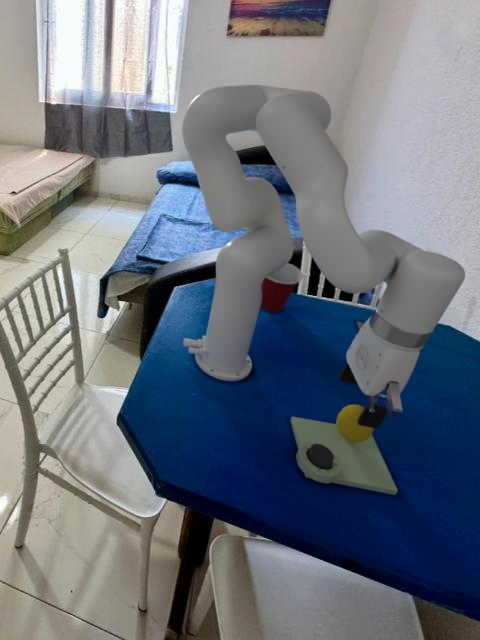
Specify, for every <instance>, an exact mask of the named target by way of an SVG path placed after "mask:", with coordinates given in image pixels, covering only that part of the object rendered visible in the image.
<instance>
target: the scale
mask: <svg viewBox="0 0 480 640" xmlns="http://www.w3.org/2000/svg"><path fill="white" fill-rule="evenodd" d="M290 424H291V428H292V431H293V432H292V433H293V435H294V439H295V442H296V448H297V452H296V455H295V459H296V463H297V466H298V468H299V469H300V470H301V471H302V473H304V477H305V478H306V479H307V478H308V479H311V480H313V481H315V482H319V483H322V484H327V485H328V484H330V483H332V484H337V485H343V486H347V487H352V488H356V489H357V488H358V489H362V490H368V491H374V492H378V493H382V494H389V495H392V496H393V495H394V496H396V495H397V493H398V487H397V485H396V484H395V482H394V479H393V477H392V475H391V473H390V471H389V469H388V466H387V464H386V462H385V459H384V458H383V456H382V453H381V451H380V448H379V447H378V445H377V443H376V441H375V439H374V435H373V433H372V434H371V436H370V437H369V438H368V439H367V440H366V441H364V442H360V443H355V442H351V441H348V440H346V439H345V438H344V437H343V436H341V434H340V433H339V431H338V429H337V425H336V423H330V422H324V421H319V420H313V419H309V418H302V417H296V416H291V417H290ZM313 444H321V445H324V446H326V447H327V448H328V449H330V451H331V452H332V453H333V456H334V460H333V462H332V464H331V466H330V468H328V469H320V468H317V467H316V466H314V465H313V464H312V463H311V462H310V461H309V459H308V452H309V450H310V448H311V446H312V445H313Z"/></svg>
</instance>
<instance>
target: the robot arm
mask: <svg viewBox="0 0 480 640" xmlns="http://www.w3.org/2000/svg"><path fill="white" fill-rule="evenodd" d="M182 120H183V121H182V130H181V132H182V140H183V144H184V148H185V150H186V152H187V155H188V157H189V159H190V161H191V164H192V166H193V169H194V171H195V175H196V177H197V181H198V185H199V188H200V192H201V195H202V198H203V201H204V205H205V207H206V211H207V213H208V217H209V220H210V222H211V224H212V225H213V226H214V228H215V229H216V230H218V231H219V232H222V233H233V232H237V231H240V230H242V229H244V231H245V233H244V234H242V235H240V236H238V237H236V238H233V239H231V240H230V241H228V242H226V243H225V244H224V245H223V246H222V248H220V250H219V251H218V253H217V256H216V259H215V285H214V291H213V297H212V303H211V308H210V312H209V318H208V323H207V328H206V334H205V335H204V334H203V335H202V338H197V339H192V338H185V337H183V342H182V347H185V348H188V351H187V352H188V354H191V355H194V359H195V363H196V364H197V366H198V367H199V368H200V369H201V370H202V371H203V372H204V373H205V374H207V375H209V376H211V377H213V378H214V379H217V380H221V381H225V382H237V381H241V380H243V379H245V378H248V376H249V375H250V374H251V372H252V368H253V362H252V359H251V357H250V355H249V351H250V347H251V343H252V340H253V336H254V332H255V329H256V325H257V320H258V317H259V313H260V311H261V310H260V309H261V301H262V292H261V285H262V282H263V280H264V279H265V278H266V277H267V276H269V275H271V274H272V273H274V272H275V271H277V270H279V269H280V268H282V267H283V266H285V265H286V264H287V263H290V261H291V260H292V257H293V254H294V242H293V237H292V233H291V230H290V226H289V224H288V220H287V217H286V214H285V210H284V207H283V204H282V201H281V198H280V195H279V193H278V191H277V189H276V188H275V187H274V186H273V184H272V183H271V182H270V181H268V180H266V179H265V178H263V177H260V176H259V177H258V176H248V177H246V176H245V173H244V171H243V168H242V163H241V160H240V158H239V155H238V154H237V152H236V150H235V149H234V148H233V146H232V145H231V144H230V143H229V141H228V140H227V136H228V135H230V134H236V133H242V132H247V131H252V132H257V134H258V136H259V138H260V139H261V142H262V143H263V145H264V146H265V148H266V149H267V152H269V154H270V156H271V158H272V159H273V161H274V163H275V164H276V166H277V168H278V169H279V170H280V172H281V174H282V176H283V177H284V179H285V181H286V182H287V184H288V186H289V187H290V189H291V191H292V192H293V194H294V197H295V210H296V217H297V222H298V228H299V231H300V235H301V238H302V242H303V244H304V245H305V248H306V249H307V251H308V252H309V254H310V256H311V257H312V259H313V261H314V262H315V264H316V266H317V268H318V269H319V270H320V272H321V273H322V275H323V276H324V277H325V279H326V280H327V281H328V282H329V283H330V284H331V285H332V286H334V287H335V288H337V289H338V290H340V291H342V292H344V293H348V294H363V293H366V292H369V291H372V290H374V288H376V287H377V286H379V285H380V284H381V283H382V282H383V283H385V284H386V287H385V289H384V291H383V293H382V295H381V297H380V299H379V301H378V302H377V303H378V304H377V305H376V307H375V309H374V311H373V313H372V315H371V316H369V318H368V319H367V320H366V321H365V322H364V323H365V324H364V325H363V326H362V328H361V329H360V331H359V330H358V332H357V334H353V335H352V342H351V344H350V345H349V347H348V349H347V351H346V353H345V357H346V358H345V359H346V363H345V365H344V367H343V368H342V371H341V372H340V374H339V376H338V379H339V381H340V382H341V383H347V384H353V385H358V387H359V389H360V390H361V392H362V393H363V394H364V395H366V396H369V398H368V405H365V406H364V410H363V411H362V413H361V415H360V417H359V418H358V420H357V423H358V425H361V426H366V427H371V428H374V429H379V428H380V427H381V425H382V423H383V422H384V421H385V419H386V417H387V416H388V417H396V416H397V415H400V414H402V413H403V412H404V411H403V404H402V399H401V398H402V397H401V393H402V392H403V390H404V389H405V387H406V385H407V384H408V382H409V380H410V378H411V375H412V374H413V372H414V370H415V367H416V365H417V362H418V359H419V356H420V353H421V352H420V350H422V349H423V348H424V347H425V345H426V343H427V342H428V340H429V338H430V337H431V335H432V334H433V331H434V330H435V328H436V327H437V325H438V324H439V322H440V321H441V319H442V317H443V315H444V314H445V313H446V311H447V309H448V308H449V306H450V304H451V303H452V301H453V299H454V298H455V297H456V294H457V293H458V291H459V290H460V288H461V287H462V285H463V283H464V281H465V278H466V271H465V269H464V267H463V266H462V265H461V264H460V263H459V262H458V261H456V260H454V259H453V258H451V257H448V256H446V255H444V254H440V253H438V252H434V251H428V250H425V249H422V248H421V247H418V246H416V245H414V244H413V243H410V242H409V241H406V240H405V239H403V238H401V237H399V236H397V235H396V234H393V233H391V232H390V231H386V230H383V229H370V230H365V231H363V232H361V233H359V234H358V232H357V231H356V229H355V226H354V225H353V223H352V222H351V219H350V217H349V214H348V212H347V208H346V203H345V202H346V201H345V190H346V187H347V182H348V177H349V165H348V164H347V162H346V160H345V158H344V157H343V156H342V154H341V153H340V151H339V149H338V148H337V146H336V145H335V144H334V142H333V141H332V139H331V137H330V136H329V134H328V133H327V131H326V130H327V129H328V128H329V126H330V123H331V121H332V108H331V106H330V104H329V102H328V100H327V99H326V98H325V97H324V96H323V95H321V94H319V93H318V92H316V91H311V90H301V89H291V88H284V87H278V86H269V85H261V84H241V85H239V84H238V85H224V86H222V85H221V86H217V87H213V88H209V89H206V90H205V91H202V92H201V93H199V94H198V95H197V96H196V97H194V99H193V100H191V102H190V103H189V105H188V106H187V108H186V111H185V113H184V117H183V119H182ZM383 391H384V392H385V393H382V392H383ZM378 398H381V399H384V400H383V406H382V405H378Z"/></svg>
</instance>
